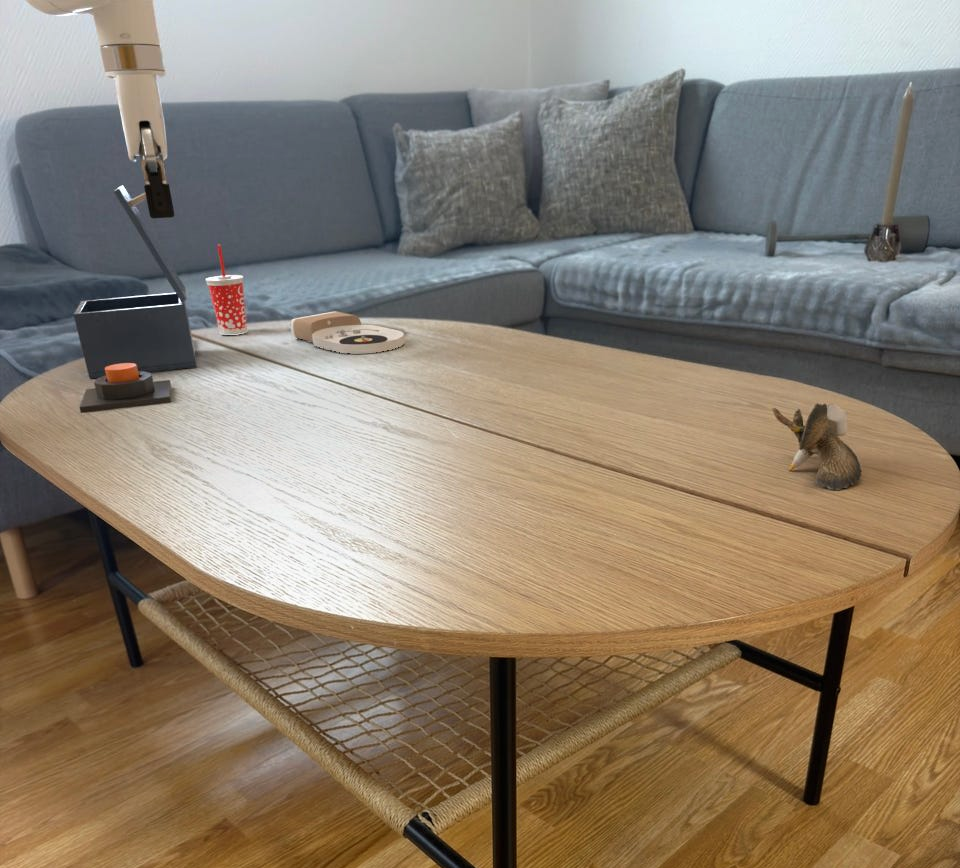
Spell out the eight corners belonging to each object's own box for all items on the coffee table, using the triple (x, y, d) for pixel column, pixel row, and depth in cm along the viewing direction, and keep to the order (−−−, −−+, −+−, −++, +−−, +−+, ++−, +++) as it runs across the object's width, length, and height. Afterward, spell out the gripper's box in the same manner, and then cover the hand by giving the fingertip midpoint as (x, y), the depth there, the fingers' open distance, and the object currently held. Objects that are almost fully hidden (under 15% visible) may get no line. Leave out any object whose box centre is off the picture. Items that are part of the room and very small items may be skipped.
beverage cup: (237, 337, 144) (222, 247, 138) (207, 336, 146) (191, 247, 140) (259, 330, 149) (245, 242, 143) (230, 329, 151) (215, 242, 145)
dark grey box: (89, 379, 122) (73, 314, 118) (96, 360, 133) (81, 300, 128) (196, 367, 126) (184, 304, 121) (194, 350, 136) (183, 292, 132)
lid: (113, 191, 113) (148, 172, 113) (118, 187, 124) (150, 171, 124) (181, 302, 121) (213, 285, 121) (180, 290, 132) (210, 274, 132)
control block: (84, 425, 101) (75, 391, 99) (90, 406, 109) (82, 374, 107) (173, 414, 103) (166, 381, 101) (173, 397, 111) (166, 365, 109)
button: (107, 386, 102) (103, 371, 101) (109, 379, 105) (105, 365, 105) (139, 382, 103) (135, 367, 102) (140, 376, 106) (136, 361, 105)
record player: (344, 309, 145) (418, 324, 132) (346, 328, 147) (419, 345, 133) (283, 320, 139) (354, 337, 125) (286, 340, 140) (356, 359, 127)
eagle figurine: (746, 446, 81) (779, 460, 72) (792, 378, 79) (831, 384, 70) (811, 487, 82) (852, 505, 73) (858, 421, 80) (905, 432, 72)
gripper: (107, 70, 119) (136, 214, 128) (99, 58, 105) (132, 222, 113) (164, 69, 121) (189, 211, 130) (163, 57, 107) (192, 218, 115)
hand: (162, 215), depth 121 cm, fingers closed on lid, 5 cm apart
